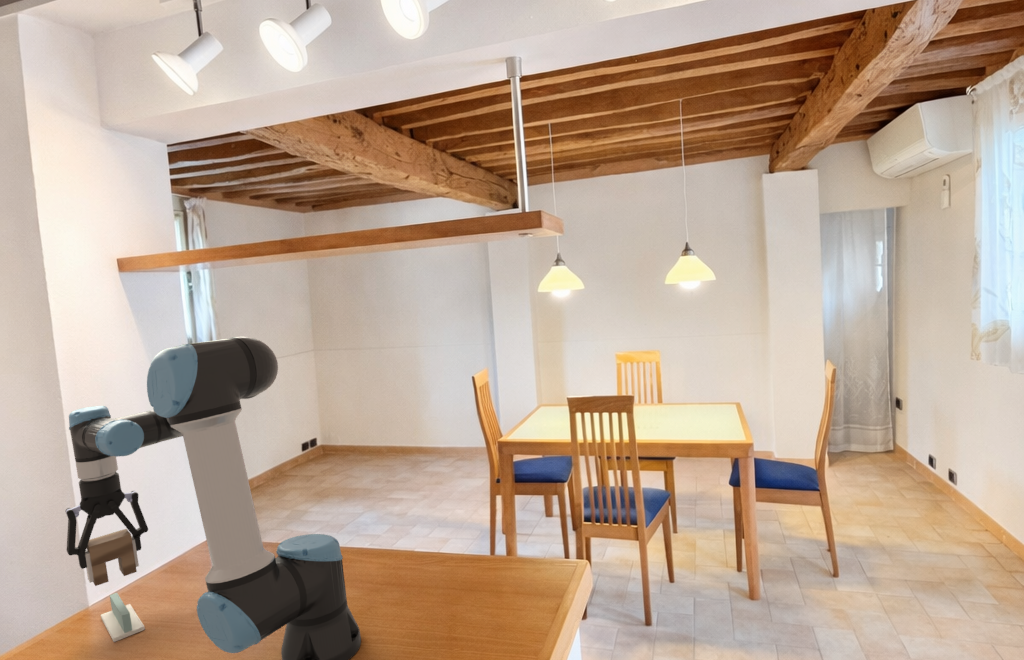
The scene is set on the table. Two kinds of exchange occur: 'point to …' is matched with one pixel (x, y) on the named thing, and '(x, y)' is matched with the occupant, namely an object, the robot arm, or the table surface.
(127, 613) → the inverted t-shaped bar
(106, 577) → the brown notched block
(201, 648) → the table surface
